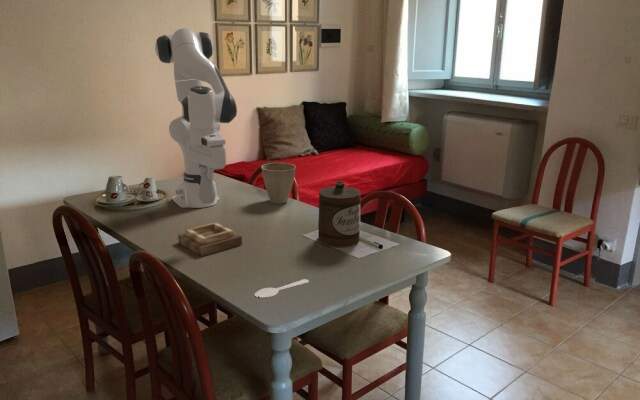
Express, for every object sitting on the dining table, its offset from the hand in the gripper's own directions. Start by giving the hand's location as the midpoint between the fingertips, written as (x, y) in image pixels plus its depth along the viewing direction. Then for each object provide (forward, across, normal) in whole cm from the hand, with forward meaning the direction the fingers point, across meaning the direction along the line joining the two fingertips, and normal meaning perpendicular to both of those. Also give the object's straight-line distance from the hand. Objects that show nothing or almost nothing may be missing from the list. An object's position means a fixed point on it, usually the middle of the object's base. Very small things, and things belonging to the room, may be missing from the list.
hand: (206, 177), depth 178 cm
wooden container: (+24, +27, +37) cm, 52 cm away
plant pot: (+24, -24, +49) cm, 60 cm away
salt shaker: (+9, 0, 0) cm, 9 cm away
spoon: (+25, +44, -2) cm, 51 cm away
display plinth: (+24, 0, 0) cm, 24 cm away
